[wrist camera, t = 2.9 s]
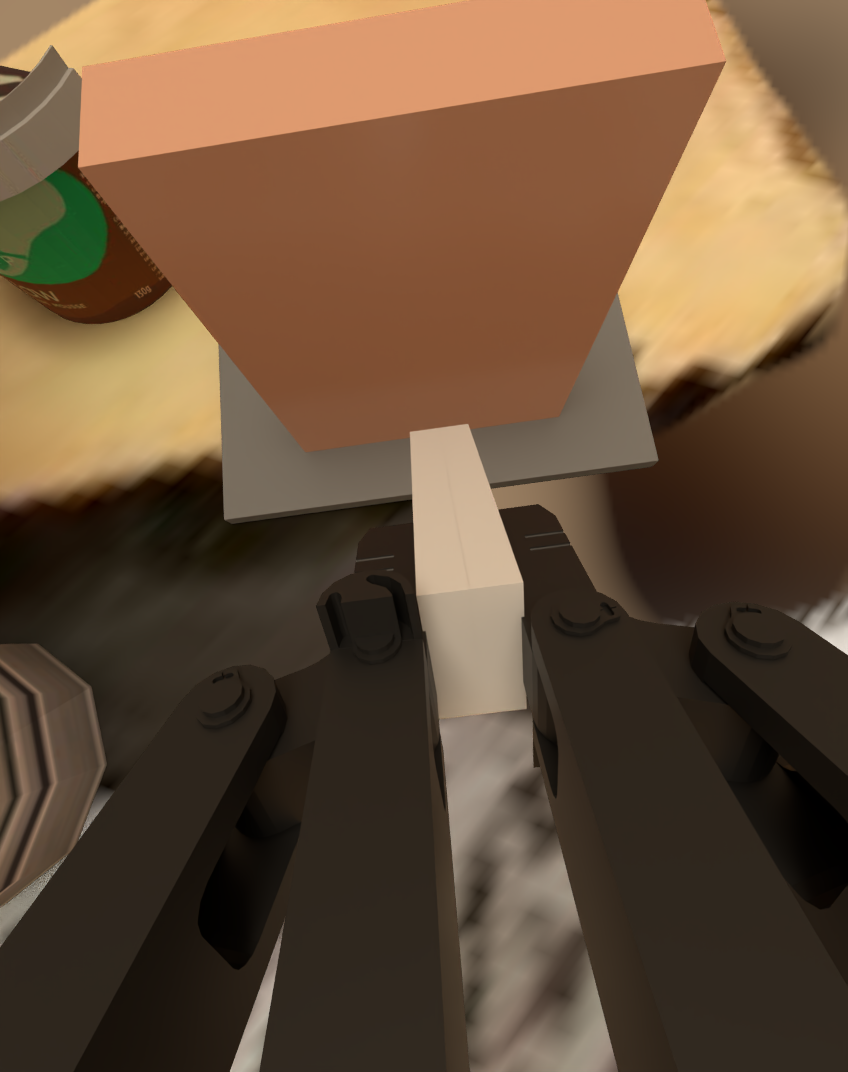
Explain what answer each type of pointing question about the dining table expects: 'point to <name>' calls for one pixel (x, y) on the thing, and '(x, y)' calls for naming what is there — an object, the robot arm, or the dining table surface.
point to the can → (43, 763)
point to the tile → (405, 198)
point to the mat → (385, 467)
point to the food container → (62, 206)
